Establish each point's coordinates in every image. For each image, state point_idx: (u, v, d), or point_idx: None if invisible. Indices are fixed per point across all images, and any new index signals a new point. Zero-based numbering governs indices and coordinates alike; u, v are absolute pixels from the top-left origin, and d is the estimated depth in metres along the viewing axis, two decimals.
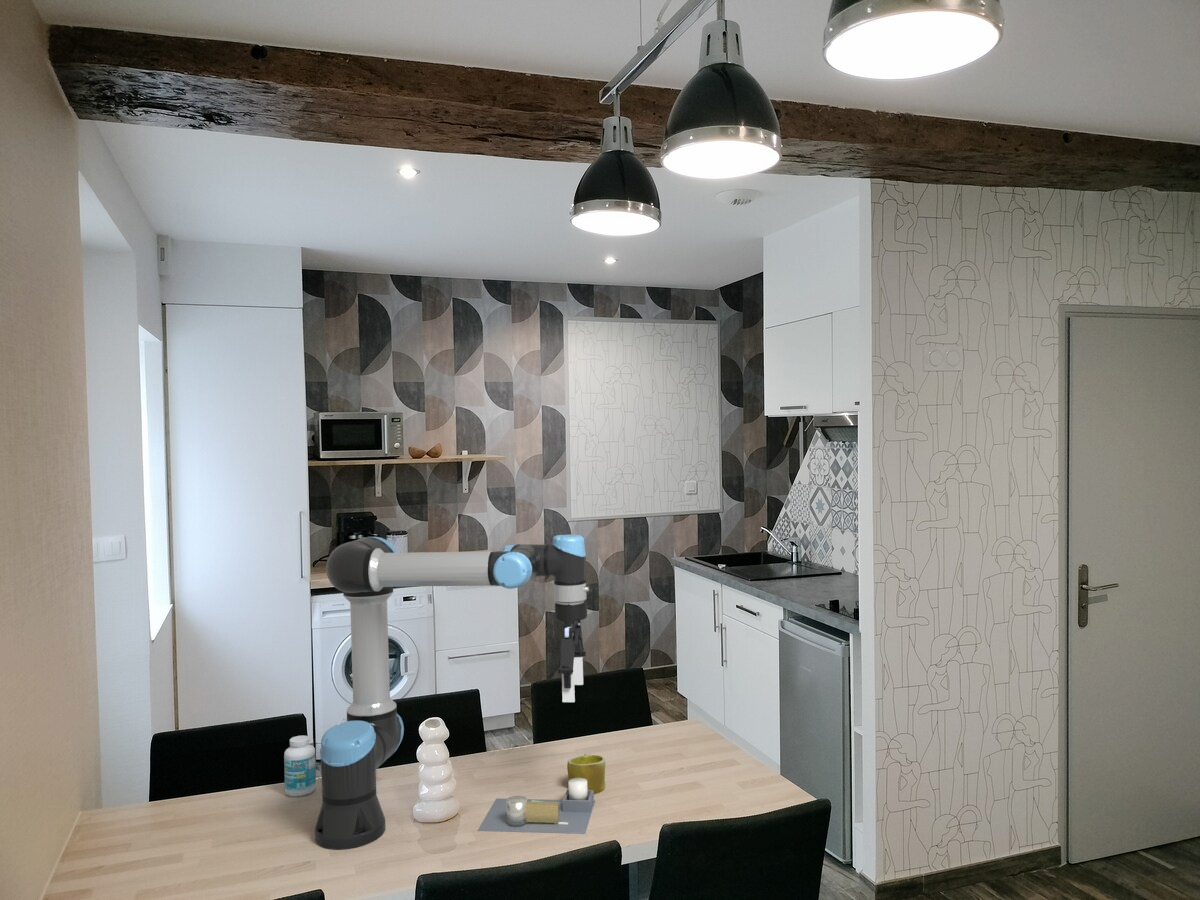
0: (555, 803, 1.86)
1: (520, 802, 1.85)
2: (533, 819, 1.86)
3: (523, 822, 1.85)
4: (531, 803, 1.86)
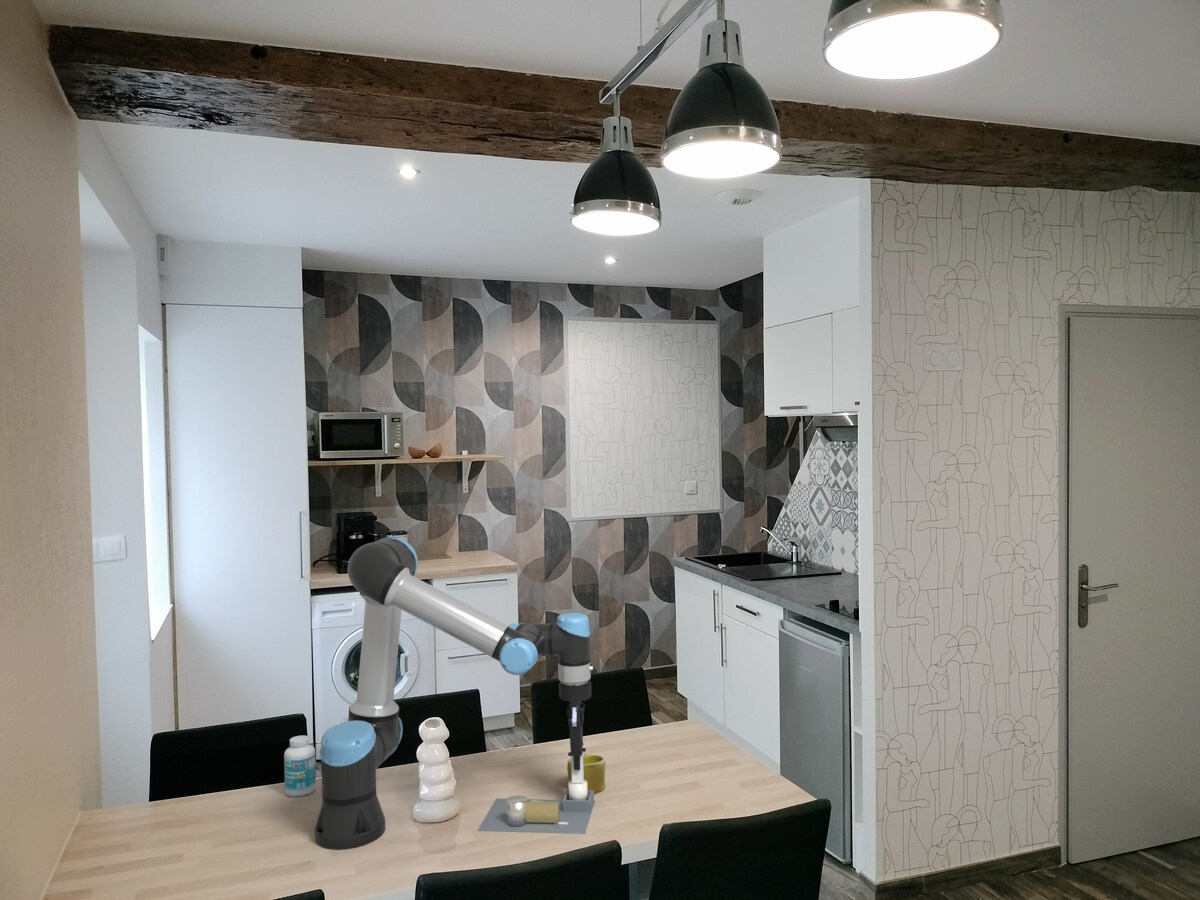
0: (555, 803, 1.86)
1: (520, 802, 1.85)
2: (533, 819, 1.86)
3: (523, 822, 1.85)
4: (531, 803, 1.86)
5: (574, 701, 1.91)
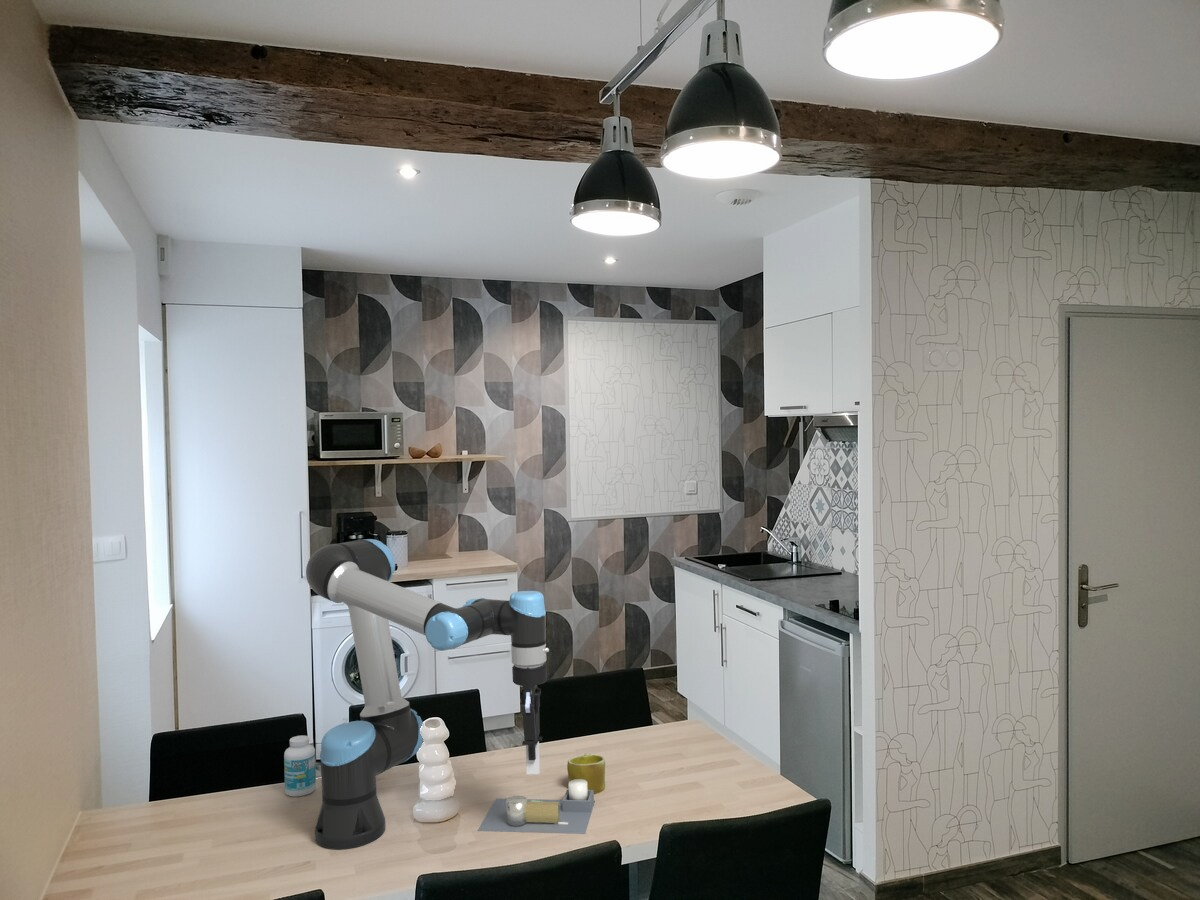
0: (555, 803, 1.86)
1: (520, 802, 1.85)
2: (533, 819, 1.86)
3: (523, 822, 1.85)
4: (531, 803, 1.86)
5: (528, 685, 1.77)
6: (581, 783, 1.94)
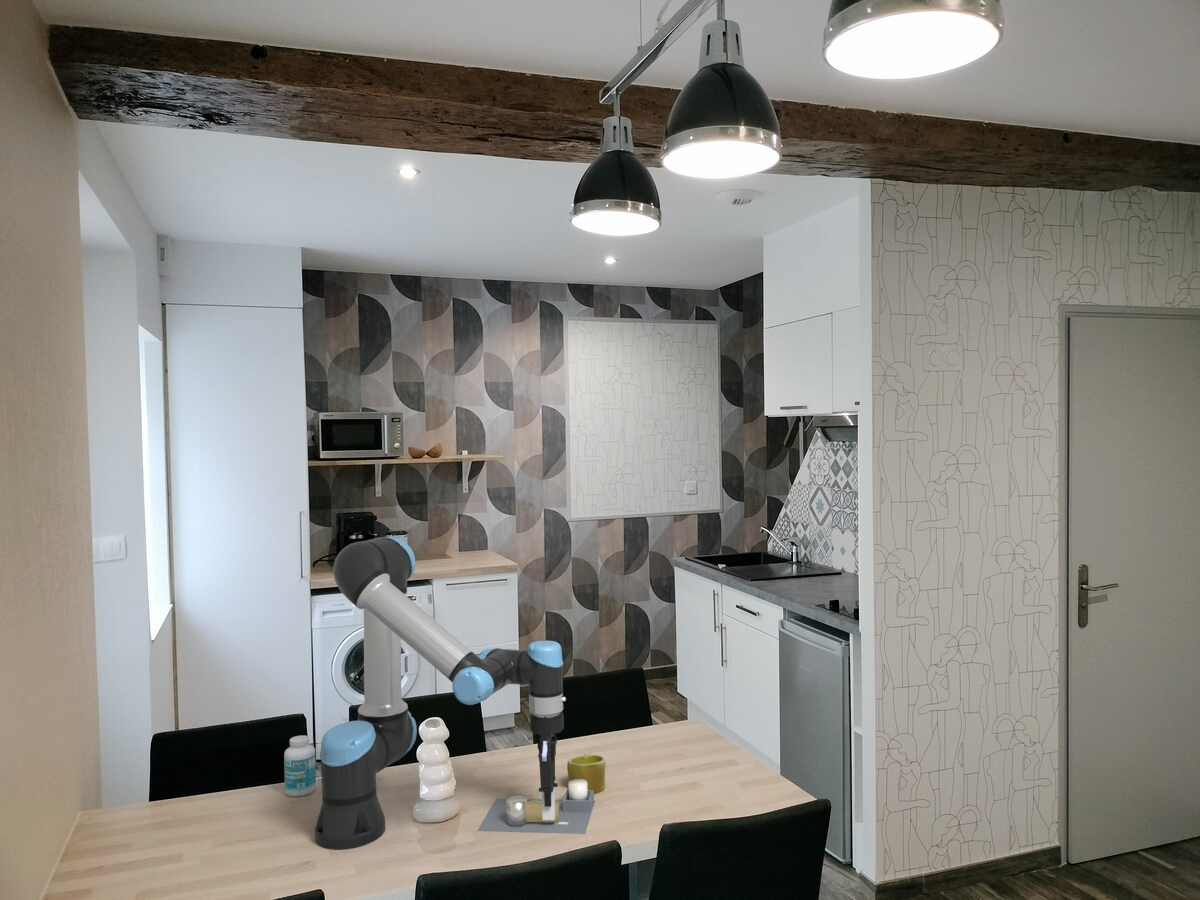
0: (555, 803, 1.86)
1: (521, 802, 1.85)
2: (533, 819, 1.86)
3: (523, 822, 1.85)
4: (531, 803, 1.86)
5: (545, 734, 1.82)
6: (581, 783, 1.94)
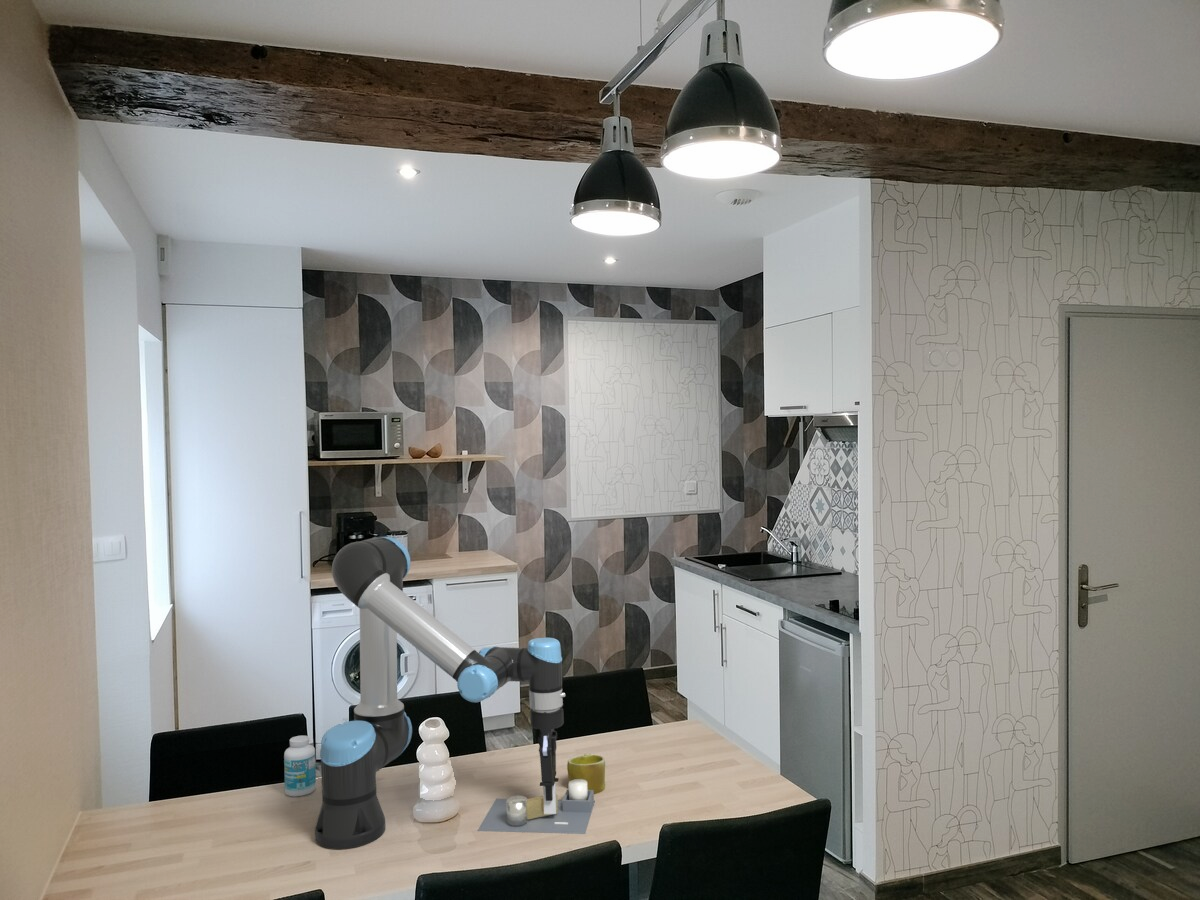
0: None
1: (524, 801, 1.86)
2: (534, 815, 1.88)
3: (526, 820, 1.86)
4: (531, 800, 1.88)
5: (545, 729, 1.85)
6: (581, 783, 1.94)
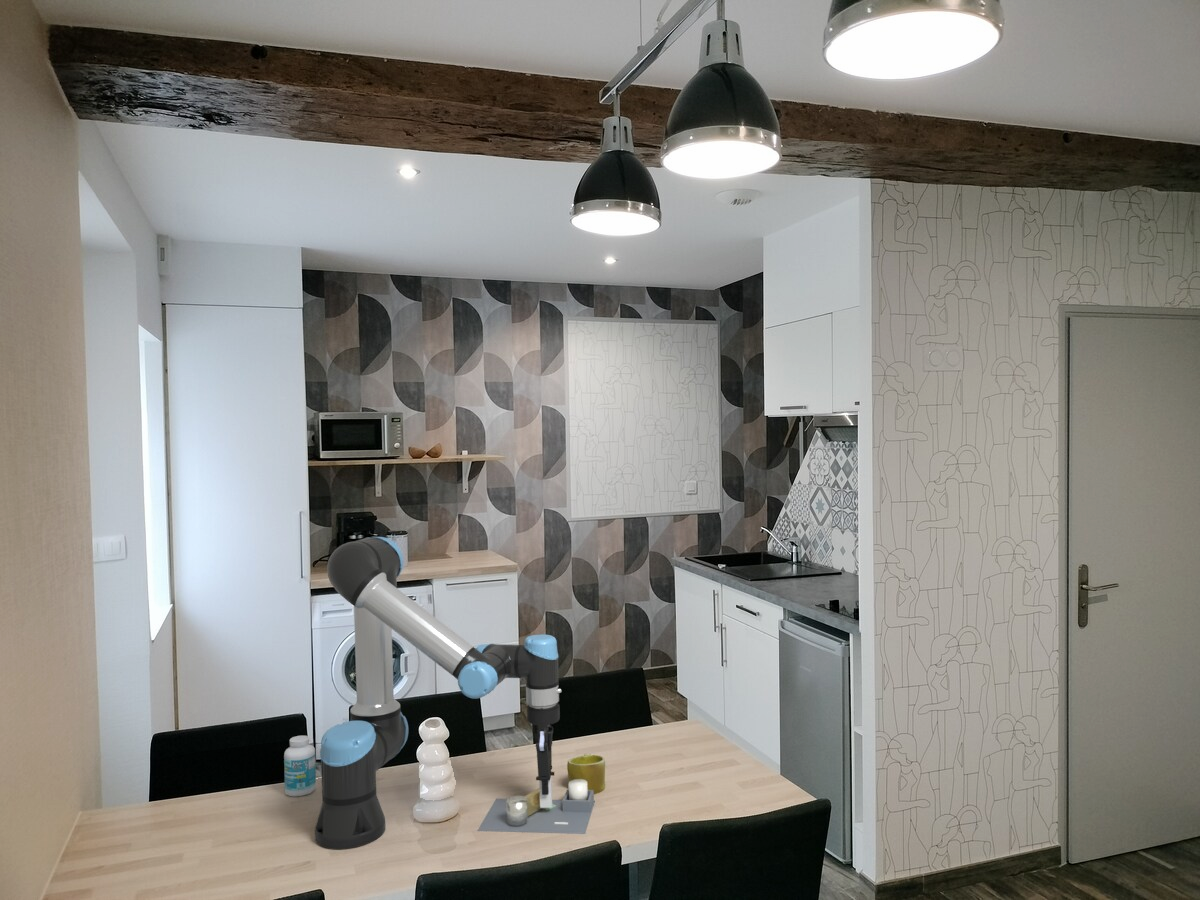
0: None
1: (525, 799, 1.87)
2: (530, 811, 1.90)
3: None
4: (527, 797, 1.90)
5: (542, 725, 1.88)
6: (581, 783, 1.94)
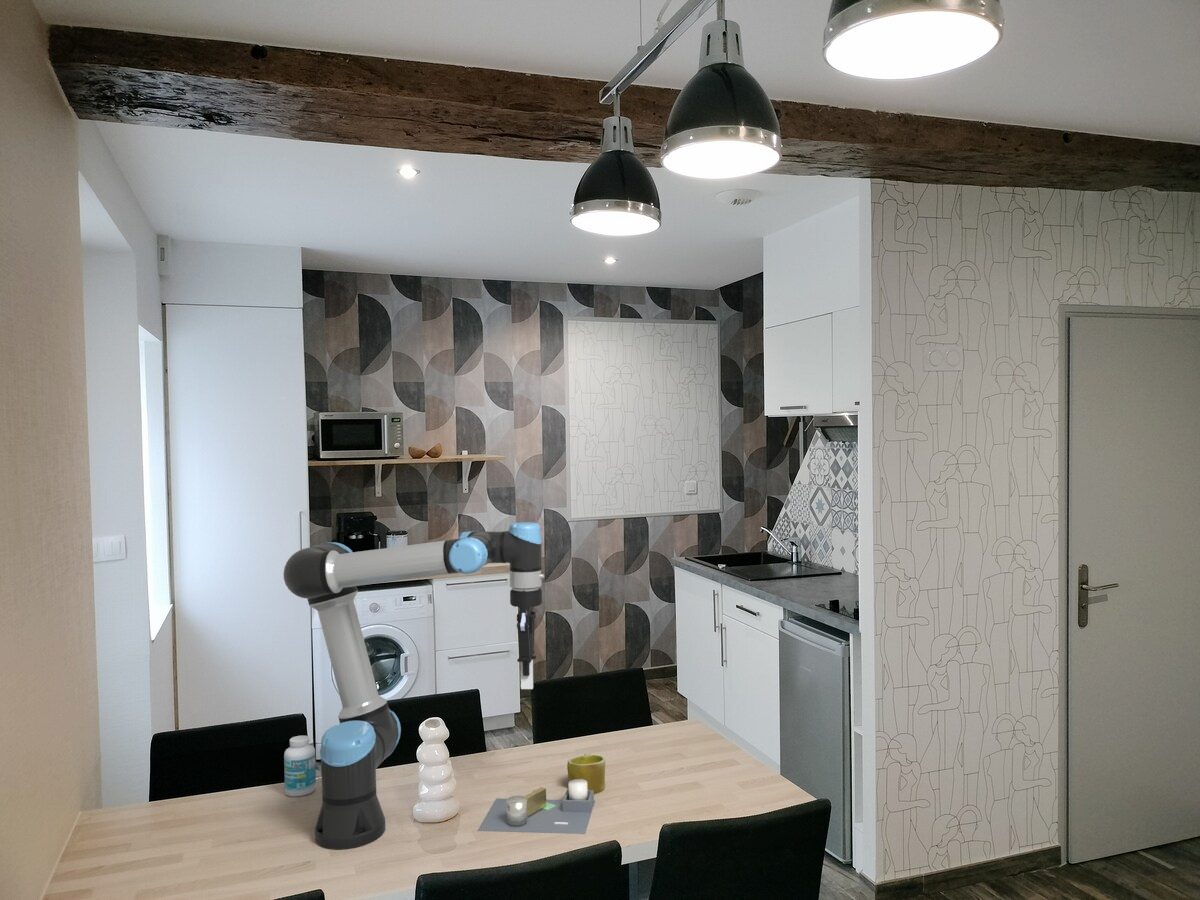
0: (541, 788, 1.94)
1: (525, 799, 1.87)
2: (530, 811, 1.90)
3: None
4: (527, 797, 1.90)
5: (523, 606, 1.93)
6: (581, 783, 1.94)
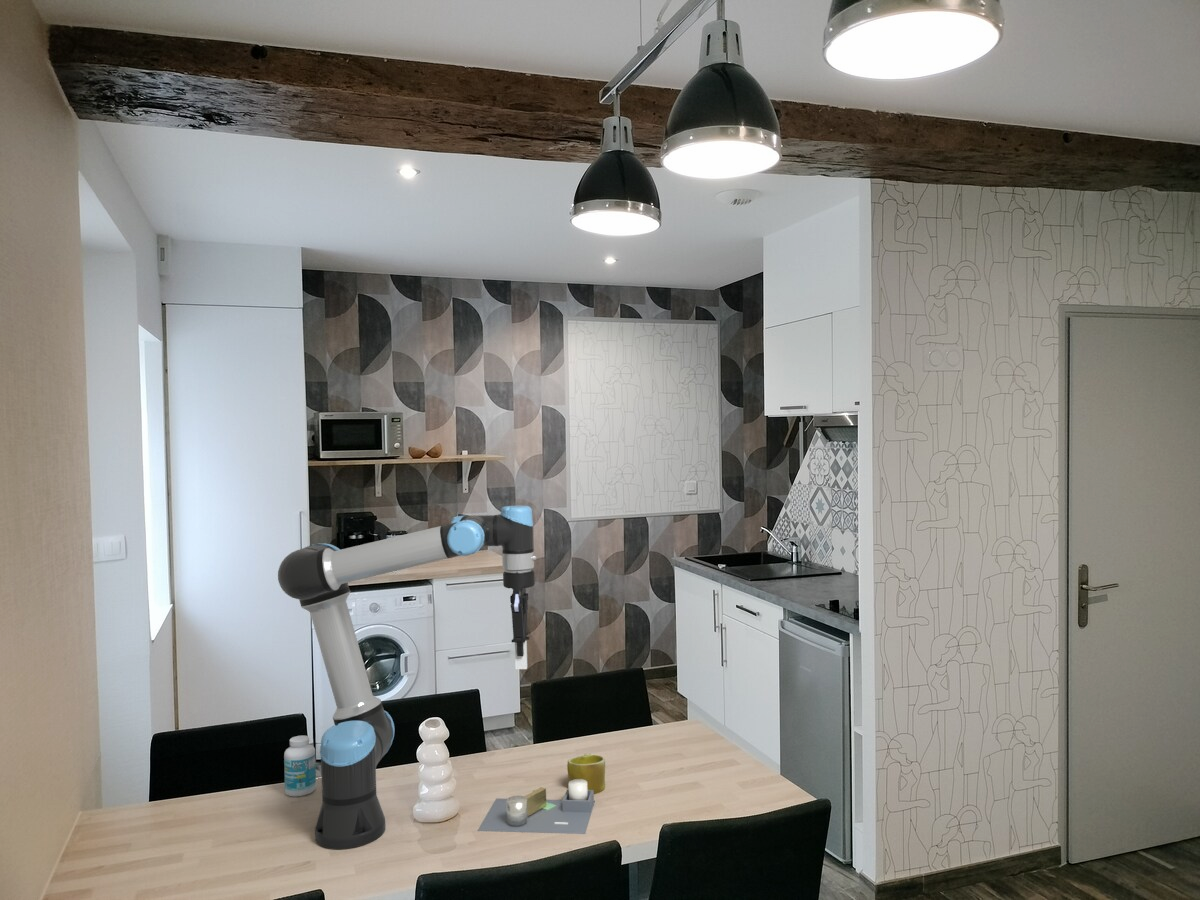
0: (541, 788, 1.94)
1: (525, 799, 1.87)
2: (530, 811, 1.90)
3: None
4: (527, 797, 1.90)
5: (517, 588, 1.96)
6: (581, 783, 1.94)
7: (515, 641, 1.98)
